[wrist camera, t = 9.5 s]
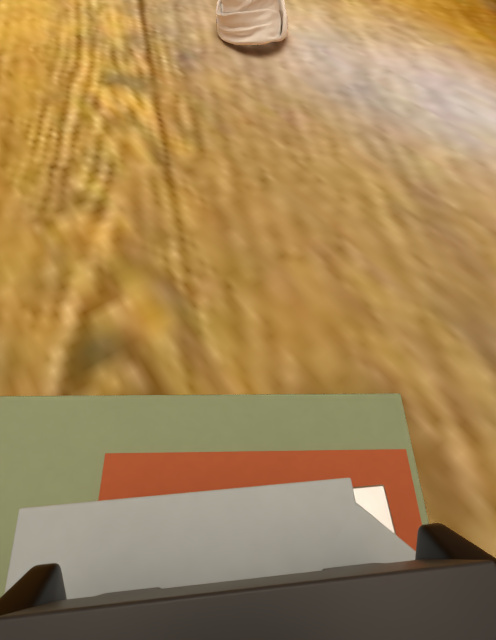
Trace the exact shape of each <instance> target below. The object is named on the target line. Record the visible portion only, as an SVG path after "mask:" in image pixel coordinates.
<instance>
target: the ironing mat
mask: <svg viewBox="0 0 496 640" xmlns="http://www.w3.org/2000/svg"><path fill="white" fill-rule="evenodd" d="M339 478H350V479H351V481H352V486H353V487H359V486H370V485H380V484H382V485H384V487H385V491H386V495H387V499H388V503H389V507H390V511H391V515H392V519H393V523H394V527H395V531H396V535H397V536H398V537H399V538H400V539H402V540H403V541H404V542H405V543H406V544H408V545H409V546H410V547H411V548H412V549H414V550H415V551H416V545H417V534H418V529H419V527H420V526H421V525H424V524H429V522H428V518H427V513H426V509H425V504H424V499H423V495H422V490H421V486H420V481H419V477H418V472H417V468H416V463H415V458H414V454H413V449H412V445H411V440H410V436H409V431H408V427H407V422H406V417H405V413H404V408H403V404H402V399H401V395H400V394H266V395H119V396H0V597H1V596H3V595H4V592H5V586H6V581H7V575H8V569H9V564H10V558H11V552H12V547H13V541H14V535H15V530H16V524H17V518H18V513H19V509H21V508H26V507H37V506H48V505H59V504H70V503H80V502H91V501H102V500H113V499H123V498H134V497H145V496H156V495H166V494H177V493H188V492H199V491H209V490H220V489H231V488H242V487H252V486H263V485H274V484H285V483H296V482H306V481H317V480H328V479H339Z"/></svg>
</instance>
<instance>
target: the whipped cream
mask: <svg viewBox="0 0 496 640" xmlns="http://www.w3.org/2000/svg"><path fill="white" fill-rule="evenodd" d="M216 15H217V19H216V23H217V25H218V26H217V31H218V35H219V36H220V38H221V39H222V40H223V41H225V42H228V43H231V44H235V45H259V44H260V45H264V44H267V43H269V42H272V41H273V42H279V41H282V40H283V39H285V38H286V37H287V35H288V17H287V13H286V8H285V2H284V0H218V1H217V6H216Z"/></svg>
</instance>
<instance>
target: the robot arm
mask: <svg viewBox="0 0 496 640" xmlns="http://www.w3.org/2000/svg"><path fill="white" fill-rule="evenodd" d="M420 559H462V560H491V561H494V563H495V564H496V558H494V557H493V556H491V555H490V554H488V553H487V552H485V551H483V550H482V549H480V548H479V547H477V546H476V545H474V544H473V543H471V542H470V541H468V540H466V539H465V538H463V537H462V536H460V535H459V534H457V533H456V532H454V531H453V530H451V529H449V528H448V527H446V526H445V525H443V524H440V523H434V524H424V525H421V526H420V527H419V529H418V534H417V545H416V555H415V560H420ZM65 599H67V598H66V592H65V587H64V581H63V576H62V571H61V567H60V565H59V564H57V563H49V564H40V565H36V566H34V567H32V568H31V569H30V570H29V571H28V572H27V573H25V574H24V575H23V576H22V577H21V578H20V579H19V580H18V581H17V582H16V583H15V584H14V585H13V586H12V587H11V588H10V589H9V590H8V591H7V592H6V593H5V594H4V595H3V596H1V597H0V616H1V615H5V614H9V613H12V612H16V611H20V610H24V609H27V608H31V607H35V606H39V605H42V604H46V603H50V602H54V601H57V600H65Z"/></svg>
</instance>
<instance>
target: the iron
mask: <svg viewBox="0 0 496 640" xmlns="http://www.w3.org/2000/svg"><path fill="white" fill-rule="evenodd" d="M415 555H416V551H415V550H414V549H412V548H411V547H410V546H409V545H408V544H406V543H405V542H404V541H403V540H402V539H400V538H399V537H398V536H397V535H396V531H395V527H394V523H393V519H392V515H391V511H390V507H389V503H388V499H387V495H386V491H385V487H384V485H382V484H380V485H370V486H359V487H353V486H352V481H351V479H350V478H339V479H328V480H317V481H306V482H296V483H285V484H274V485H263V486H252V487H242V488H231V489H220V490H209V491H199V492H188V493H177V494H166V495H156V496H145V497H134V498H123V499H113V500H102V501H91V502H80V503H70V504H59V505H48V506H37V507H26V508H21V509H19V513H18V518H17V524H16V530H15V535H14V541H13V547H12V552H11V558H10V564H9V569H8V575H7V581H6V586H5V592H4V594H5V593H6V592H7V591H8V590H9V589H10V588H11V587H12V586H13V585H14V584H15V583H16V582H17V581H18V580H19V579H20V578H21V577H22V576H23V575H24V574H25V573H27V572H28V571H29V570H30V569H31V568H32V567H34V566H36V565H40V564H49V563H57V564H59V565H60V567H61V571H62V576H63V581H64V587H65V592H66V598H67V599H65V600H57V601H54V602H50V603H46V604H42V605H39V606H35V607H31V608H27V609H24V610H20V611H16V612H12V613H9V614H5V615H1V616H0V640H496V564H495V563H494V561H491V560H462V559H420V560H415Z"/></svg>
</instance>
